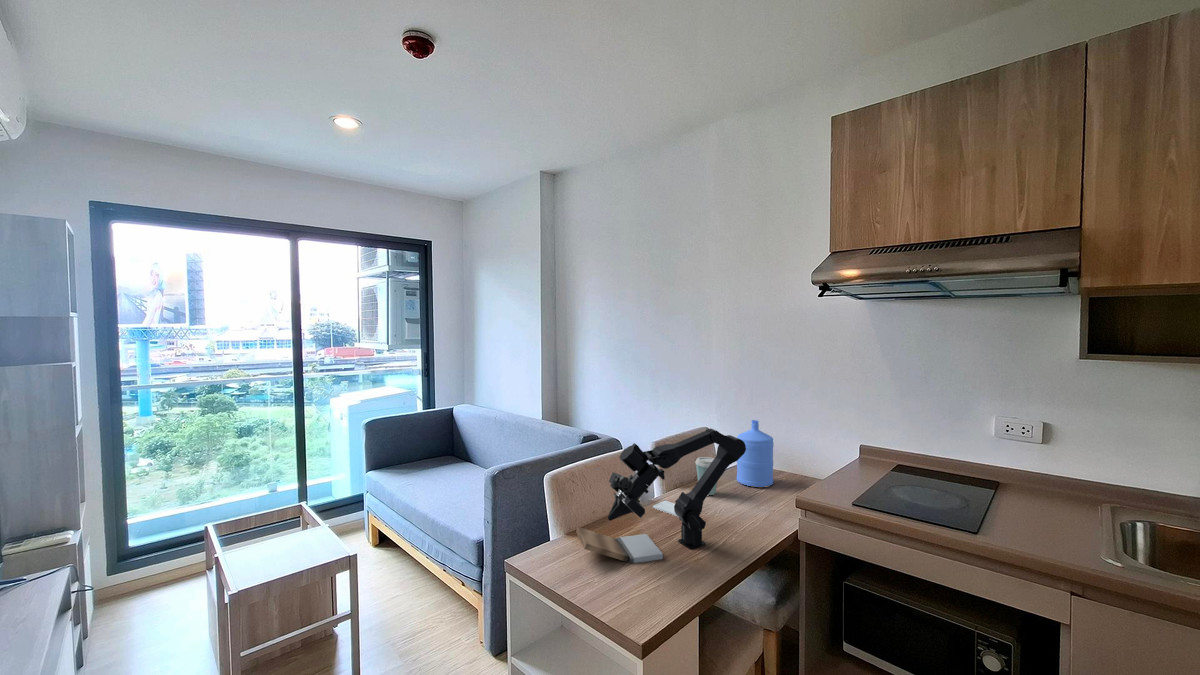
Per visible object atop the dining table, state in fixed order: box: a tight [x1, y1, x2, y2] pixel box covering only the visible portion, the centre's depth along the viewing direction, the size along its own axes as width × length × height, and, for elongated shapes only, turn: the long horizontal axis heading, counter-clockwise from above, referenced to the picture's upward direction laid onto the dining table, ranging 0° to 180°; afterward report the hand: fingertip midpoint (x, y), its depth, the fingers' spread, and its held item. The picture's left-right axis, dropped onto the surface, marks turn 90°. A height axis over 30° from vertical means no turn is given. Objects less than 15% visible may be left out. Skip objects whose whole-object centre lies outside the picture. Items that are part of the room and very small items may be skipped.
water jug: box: [736, 419, 774, 487], centre depth 208 cm, size 16×16×28 cm
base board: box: [616, 533, 664, 564], centre depth 145 cm, size 10×14×2 cm
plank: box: [575, 526, 629, 563], centre depth 142 cm, size 14×12×2 cm
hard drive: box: [652, 500, 679, 518], centre depth 178 cm, size 2×8×12 cm
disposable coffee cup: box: [694, 456, 719, 497], centre depth 194 cm, size 11×11×15 cm
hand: (608, 519), depth 142 cm, fingers closed
